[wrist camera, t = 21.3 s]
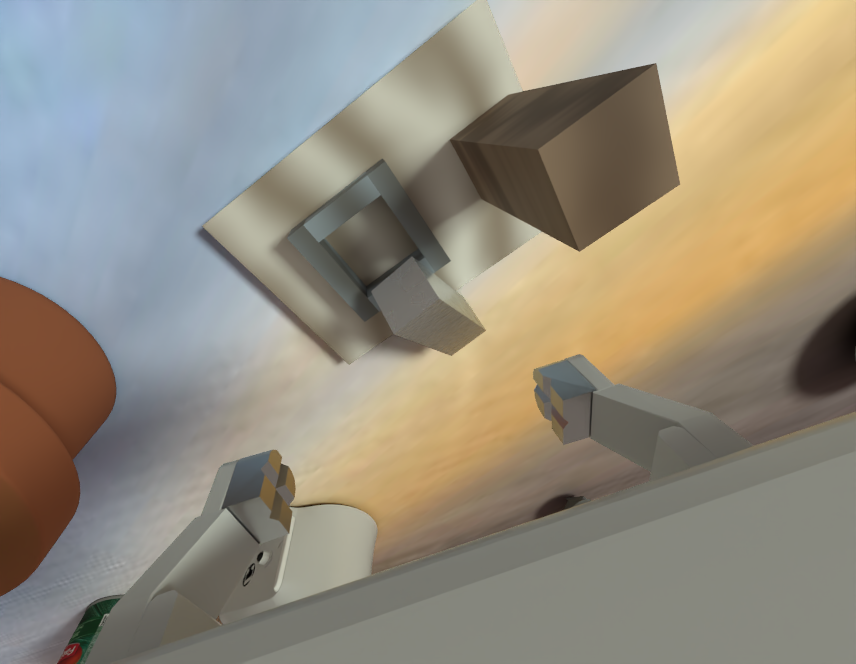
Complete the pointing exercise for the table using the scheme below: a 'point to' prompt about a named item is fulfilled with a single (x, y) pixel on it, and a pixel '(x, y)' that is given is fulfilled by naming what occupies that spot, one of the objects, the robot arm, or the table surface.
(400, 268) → the gray rectangular block
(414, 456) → the table surface
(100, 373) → the potted cactus
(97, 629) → the canned tomato
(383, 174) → the socket board with post
